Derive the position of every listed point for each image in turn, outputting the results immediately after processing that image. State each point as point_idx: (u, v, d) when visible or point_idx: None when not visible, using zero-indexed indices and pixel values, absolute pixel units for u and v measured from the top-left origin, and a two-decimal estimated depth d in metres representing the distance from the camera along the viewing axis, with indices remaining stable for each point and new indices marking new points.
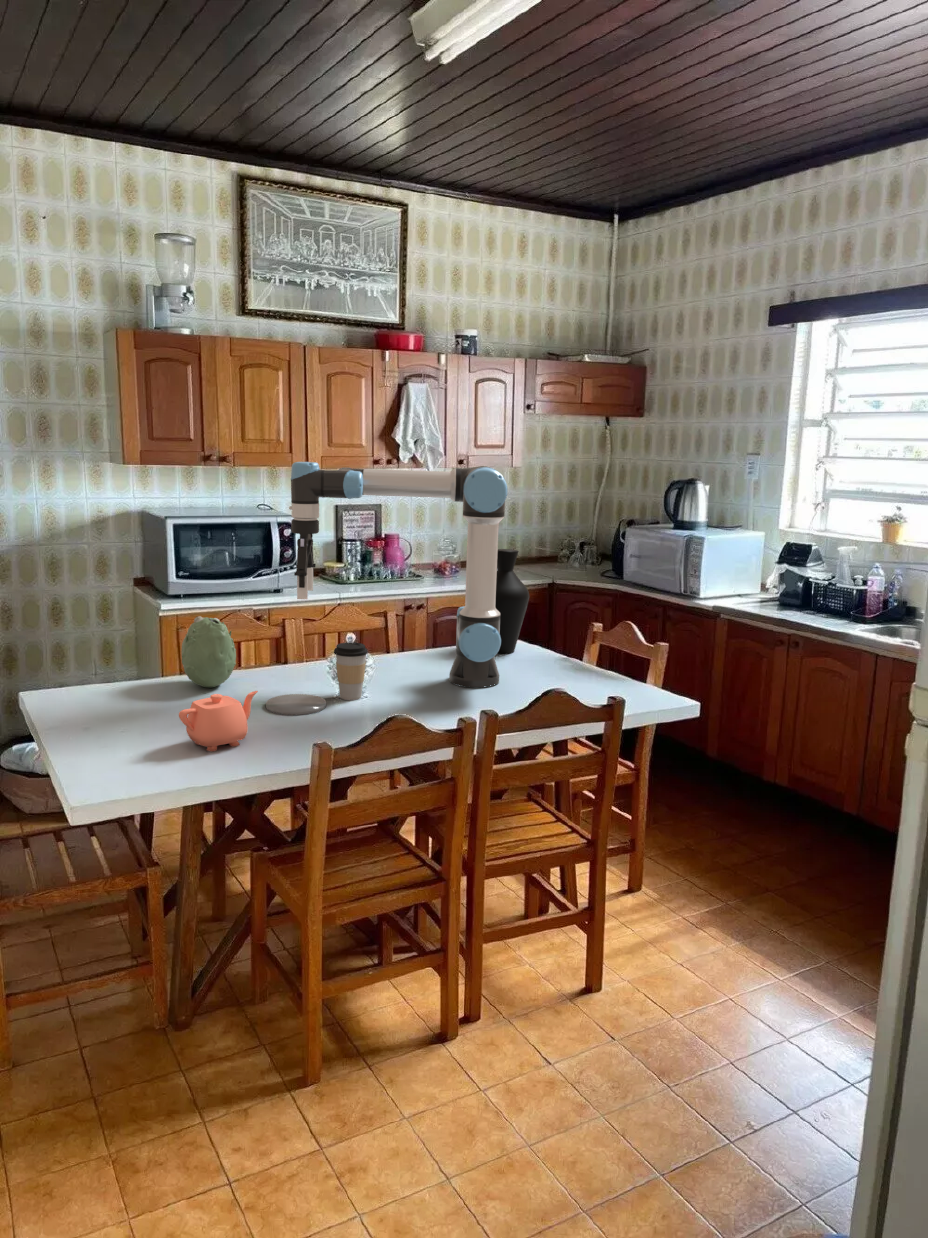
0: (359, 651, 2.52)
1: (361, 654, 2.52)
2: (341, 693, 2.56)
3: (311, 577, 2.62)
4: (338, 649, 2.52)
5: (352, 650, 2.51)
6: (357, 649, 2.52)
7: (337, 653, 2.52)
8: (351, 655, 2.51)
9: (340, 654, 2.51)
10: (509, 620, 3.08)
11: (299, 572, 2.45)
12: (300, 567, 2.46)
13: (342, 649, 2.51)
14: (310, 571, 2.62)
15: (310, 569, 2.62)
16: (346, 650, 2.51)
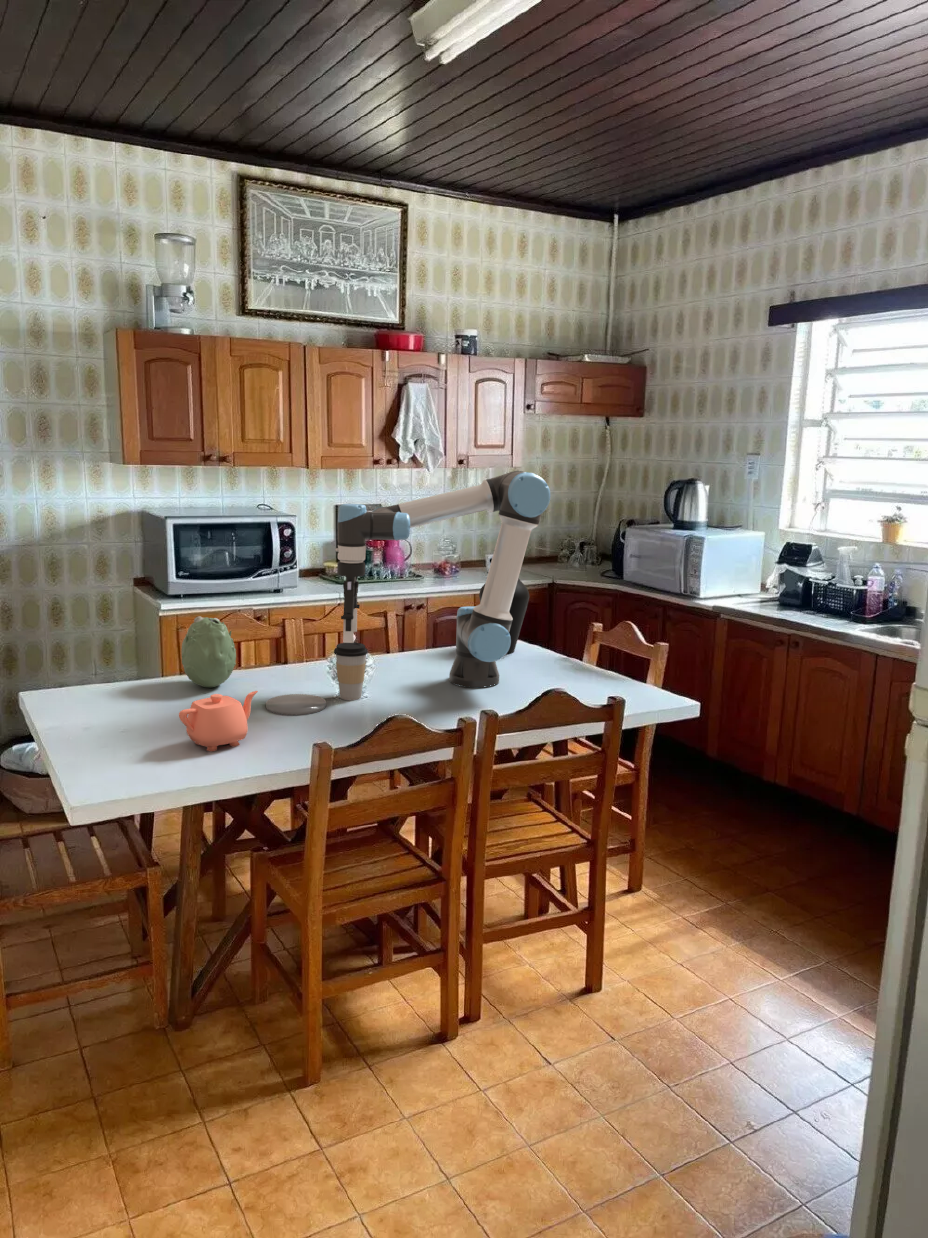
0: (359, 651, 2.52)
1: (361, 654, 2.52)
2: (341, 693, 2.56)
3: (355, 618, 2.60)
4: (338, 649, 2.52)
5: (352, 650, 2.51)
6: (357, 649, 2.52)
7: (337, 653, 2.52)
8: (351, 655, 2.51)
9: (340, 654, 2.51)
10: None
11: (346, 616, 2.43)
12: (347, 611, 2.43)
13: (342, 649, 2.51)
14: (354, 612, 2.59)
15: (354, 610, 2.59)
16: (346, 650, 2.51)
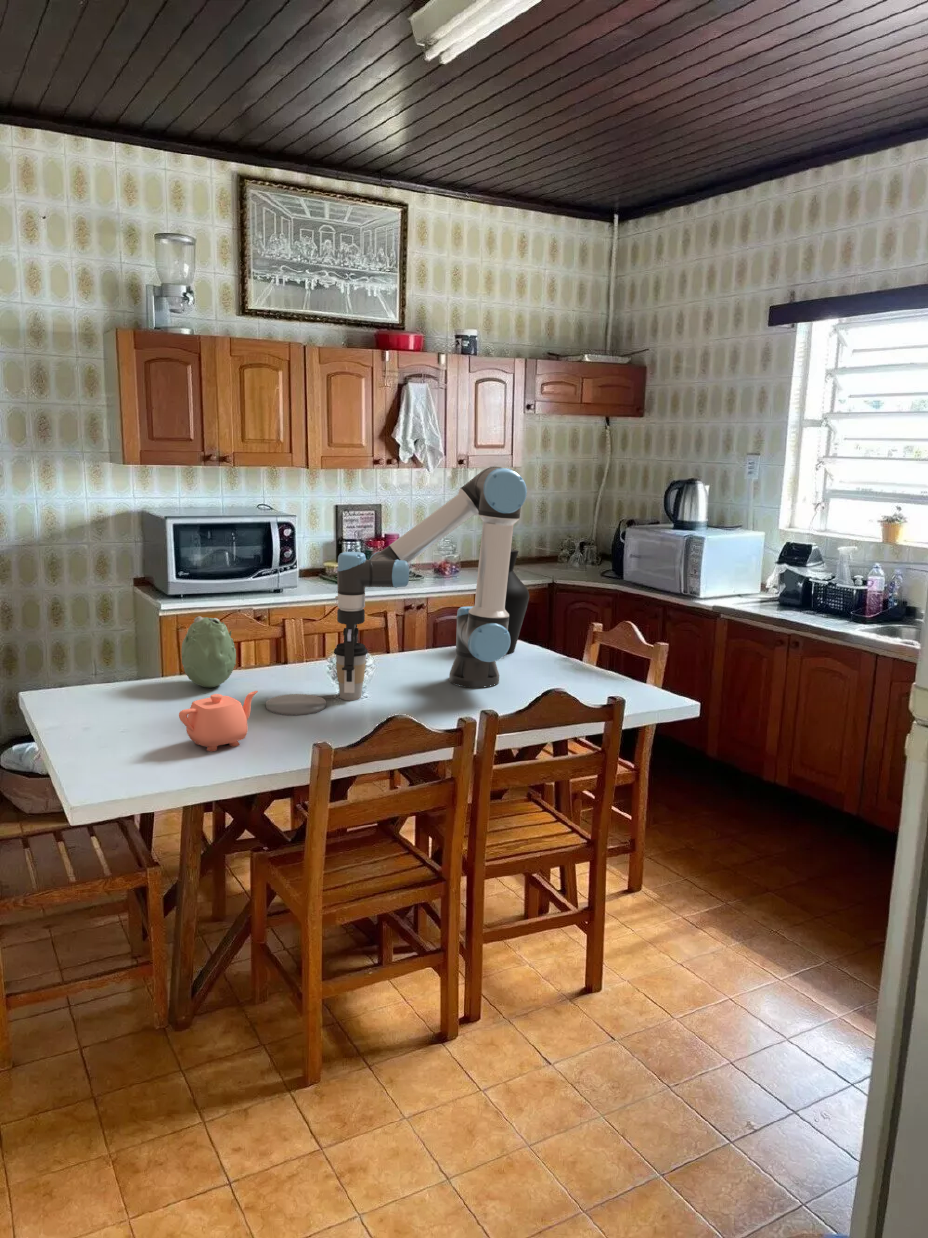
0: (359, 651, 2.52)
1: (361, 654, 2.52)
2: (341, 693, 2.56)
3: None
4: (338, 649, 2.52)
5: None
6: (357, 649, 2.52)
7: (337, 653, 2.52)
8: None
9: (340, 654, 2.51)
10: (509, 620, 3.08)
11: (347, 668, 2.48)
12: (347, 663, 2.48)
13: (342, 649, 2.51)
14: None
15: None
16: None
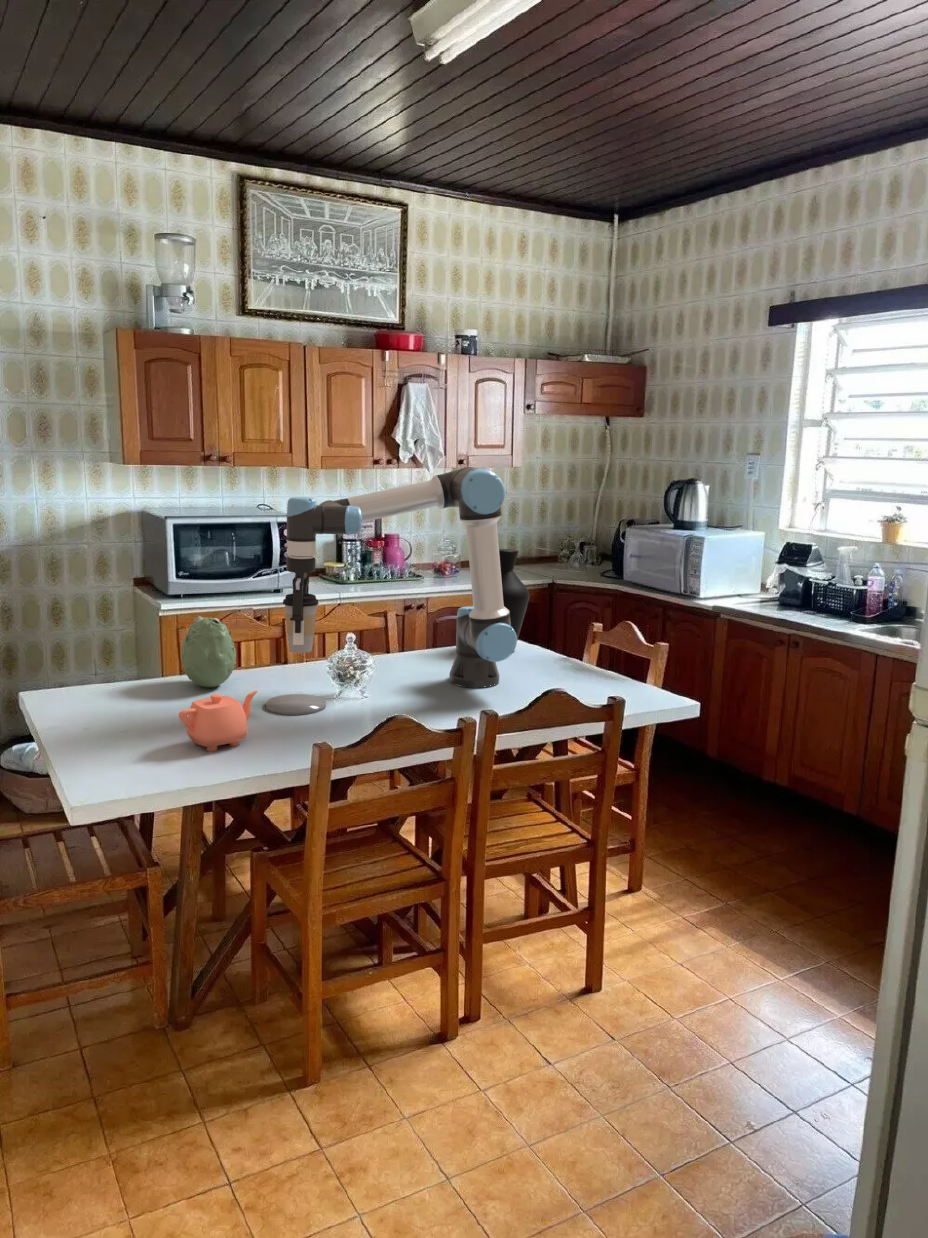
0: (309, 601, 2.40)
1: (311, 604, 2.40)
2: (290, 646, 2.44)
3: None
4: (287, 599, 2.41)
5: None
6: (306, 599, 2.40)
7: (286, 603, 2.40)
8: None
9: (289, 604, 2.39)
10: None
11: (295, 618, 2.36)
12: (295, 613, 2.36)
13: (291, 599, 2.40)
14: None
15: None
16: None
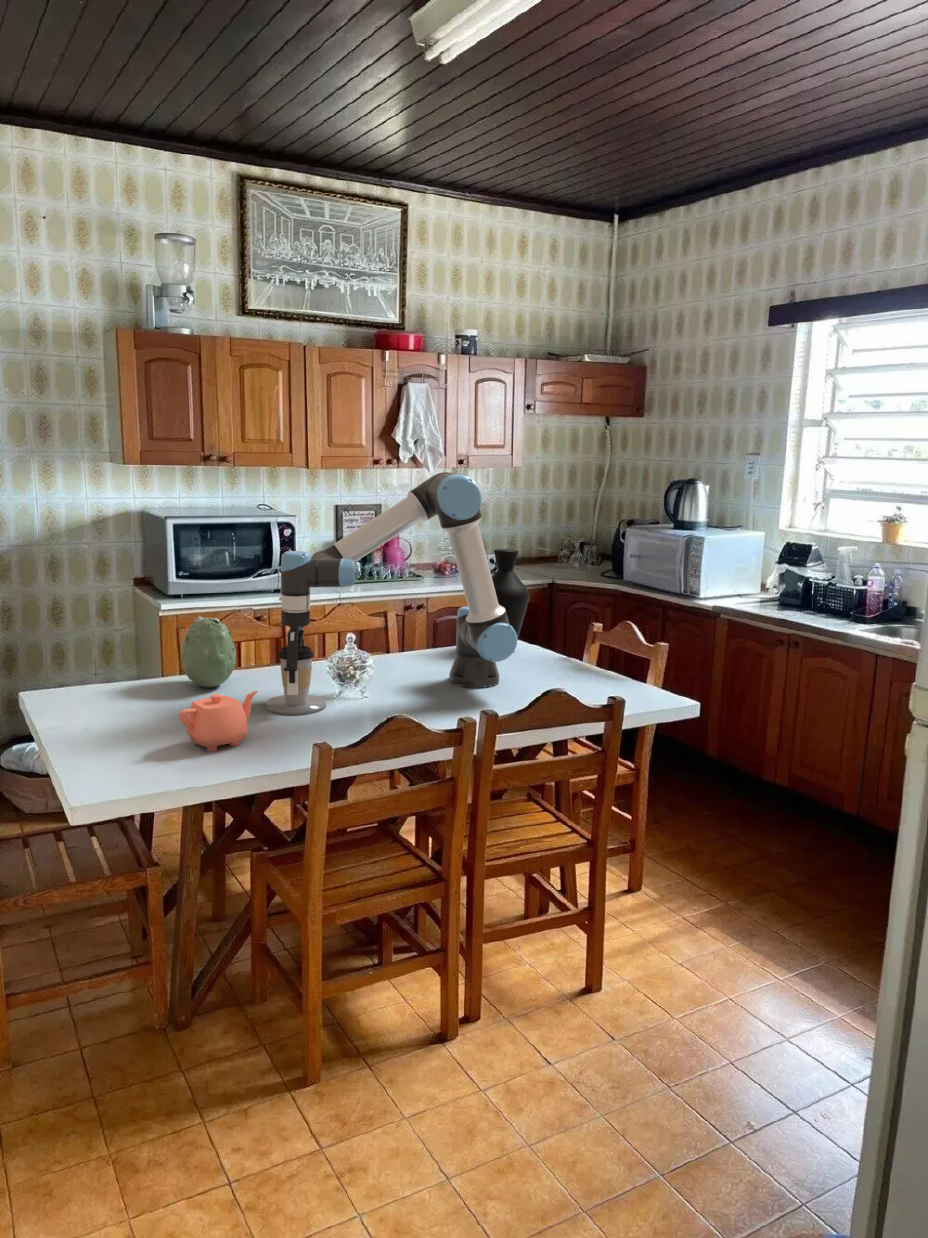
0: (304, 654, 2.42)
1: (306, 658, 2.42)
2: (286, 698, 2.46)
3: None
4: (282, 652, 2.42)
5: None
6: (302, 652, 2.42)
7: (281, 657, 2.42)
8: None
9: (284, 658, 2.41)
10: (509, 620, 3.08)
11: (289, 668, 2.36)
12: (290, 663, 2.36)
13: (286, 652, 2.42)
14: None
15: None
16: None
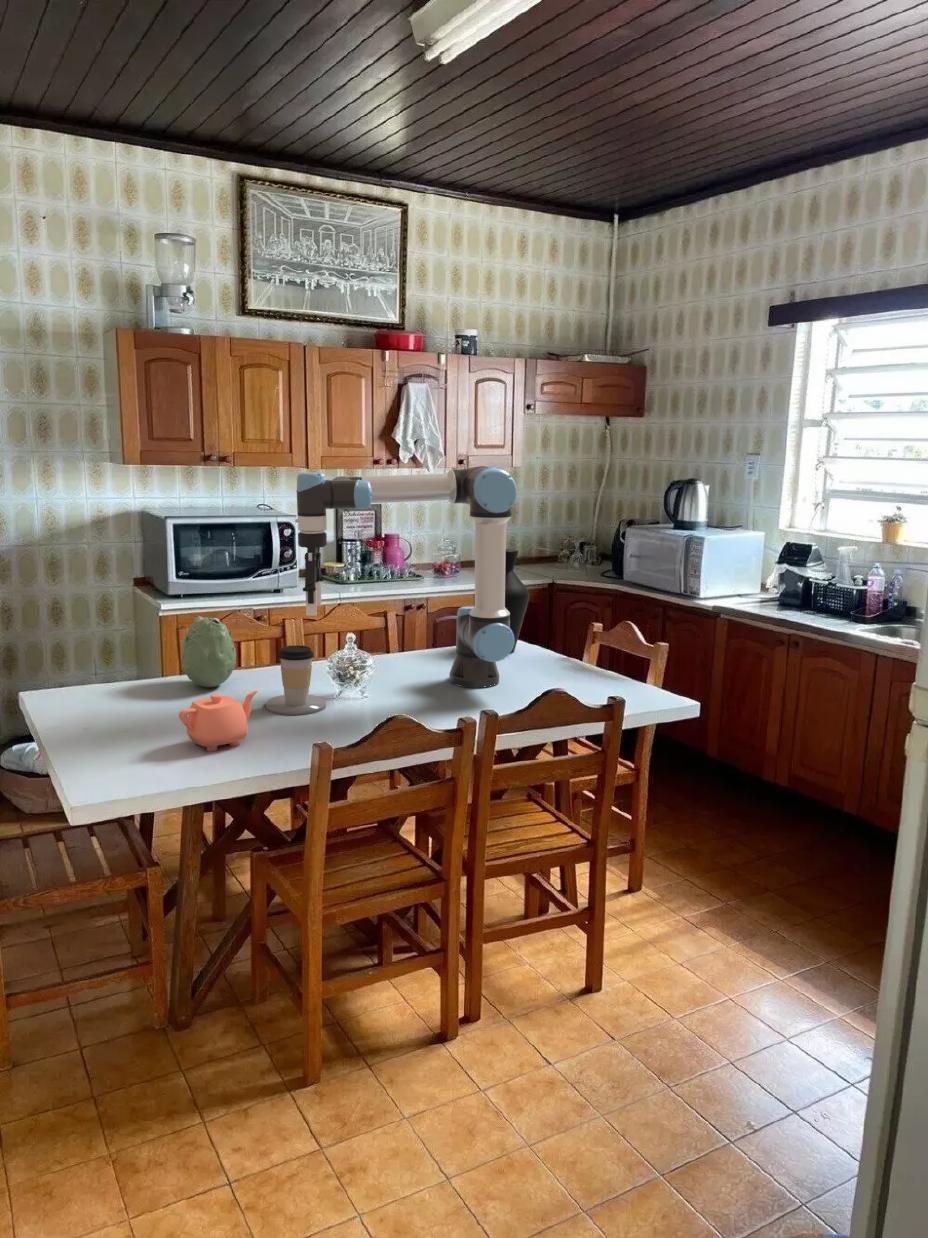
0: (304, 654, 2.42)
1: (306, 658, 2.42)
2: (286, 698, 2.46)
3: (319, 591, 2.53)
4: (282, 652, 2.42)
5: (296, 653, 2.41)
6: (302, 652, 2.42)
7: (281, 657, 2.42)
8: (296, 658, 2.41)
9: (284, 658, 2.41)
10: None
11: (308, 588, 2.36)
12: (308, 583, 2.36)
13: (286, 652, 2.42)
14: (318, 585, 2.52)
15: (318, 583, 2.52)
16: (290, 653, 2.41)
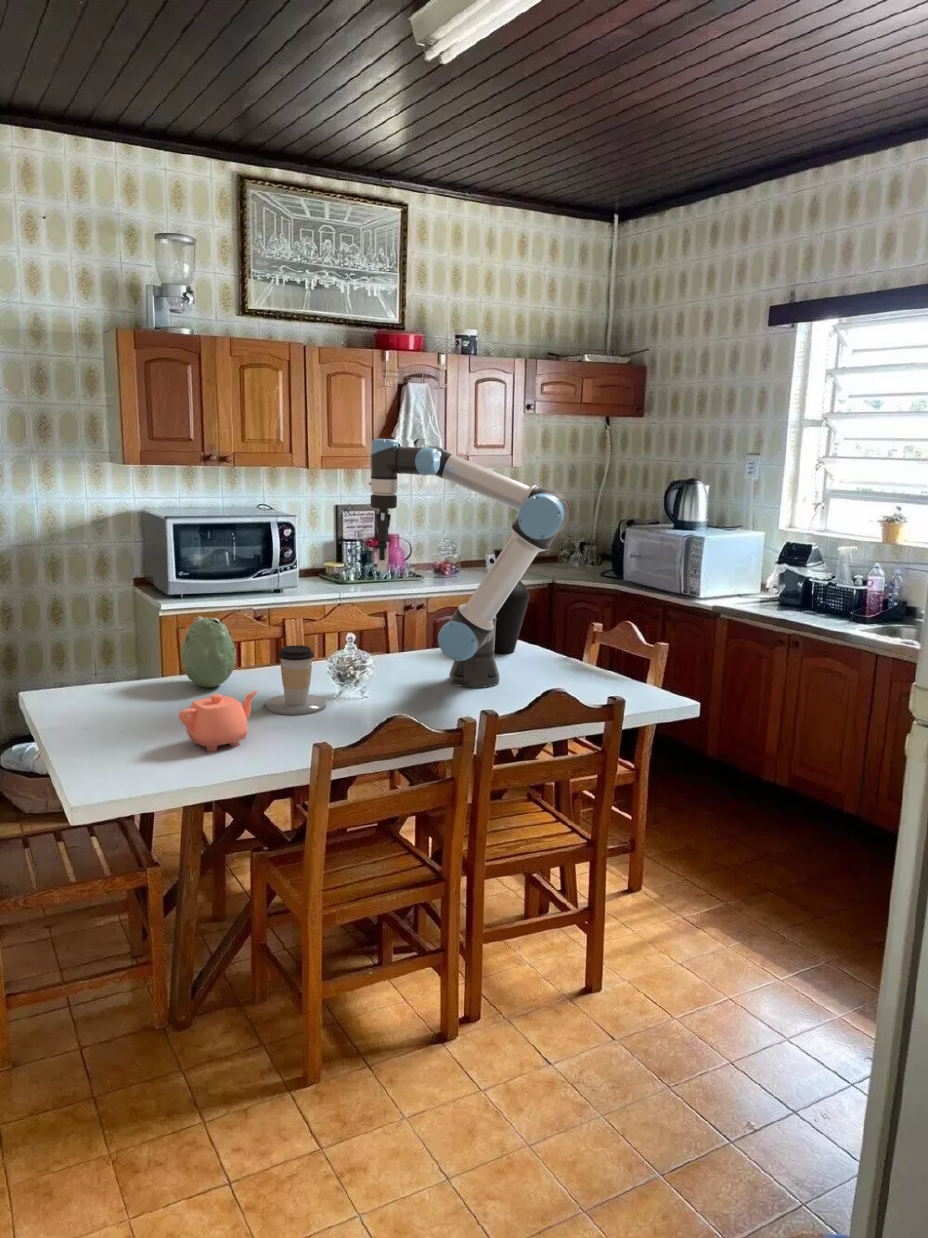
0: (304, 654, 2.42)
1: (306, 658, 2.42)
2: (286, 698, 2.46)
3: (387, 551, 2.71)
4: (282, 652, 2.42)
5: (296, 653, 2.41)
6: (302, 652, 2.42)
7: (281, 657, 2.42)
8: (296, 658, 2.41)
9: (284, 658, 2.41)
10: (509, 620, 3.08)
11: (380, 545, 2.54)
12: (381, 540, 2.54)
13: (286, 652, 2.42)
14: (386, 545, 2.71)
15: (386, 543, 2.71)
16: (290, 653, 2.41)
